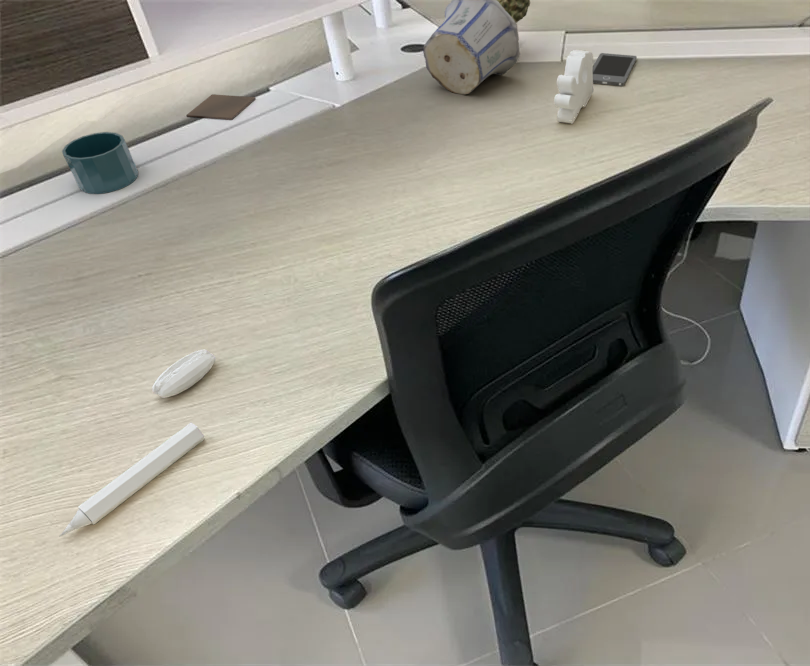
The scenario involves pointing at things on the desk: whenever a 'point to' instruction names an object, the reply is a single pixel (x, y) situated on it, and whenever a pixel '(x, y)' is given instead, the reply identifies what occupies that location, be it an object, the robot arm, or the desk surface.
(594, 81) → the smartphone
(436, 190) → the desk surface
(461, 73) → the potted plant
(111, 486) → the marker
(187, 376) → the sub sandwich
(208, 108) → the desk pad
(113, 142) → the desk cup
